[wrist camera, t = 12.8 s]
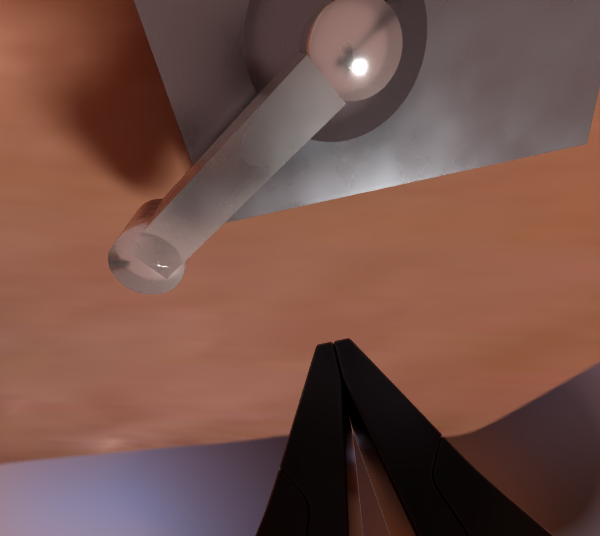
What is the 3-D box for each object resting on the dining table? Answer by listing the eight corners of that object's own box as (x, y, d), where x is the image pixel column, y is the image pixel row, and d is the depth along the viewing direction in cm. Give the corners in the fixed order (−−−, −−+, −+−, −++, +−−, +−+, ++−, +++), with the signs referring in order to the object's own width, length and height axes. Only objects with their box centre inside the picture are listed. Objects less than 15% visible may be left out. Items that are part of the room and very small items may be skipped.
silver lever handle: (345, -129, 10) (381, -201, 7) (451, 51, 13) (511, 56, 10) (87, 189, 14) (39, 231, 11) (208, 277, 17) (196, 331, 14)
